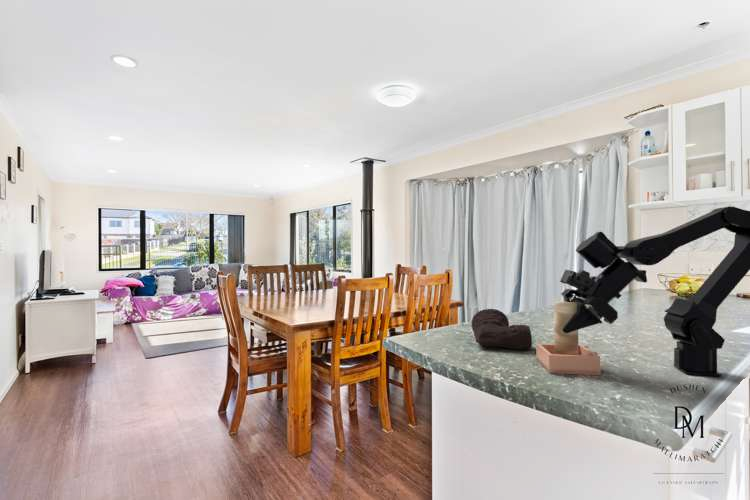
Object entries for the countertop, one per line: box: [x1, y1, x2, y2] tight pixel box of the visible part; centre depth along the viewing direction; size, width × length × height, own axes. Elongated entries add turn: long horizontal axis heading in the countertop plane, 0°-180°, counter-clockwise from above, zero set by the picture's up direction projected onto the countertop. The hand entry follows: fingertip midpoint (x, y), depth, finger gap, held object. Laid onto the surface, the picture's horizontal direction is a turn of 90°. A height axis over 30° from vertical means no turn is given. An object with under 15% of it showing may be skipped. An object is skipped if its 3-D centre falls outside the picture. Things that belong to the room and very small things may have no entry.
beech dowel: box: [553, 301, 579, 355], centre depth 90 cm, size 5×5×13 cm
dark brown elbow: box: [471, 308, 533, 351], centre depth 111 cm, size 10×15×15 cm
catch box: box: [535, 343, 602, 376], centre depth 90 cm, size 11×11×4 cm
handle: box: [582, 344, 598, 355], centre depth 105 cm, size 8×1×5 cm
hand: (560, 329), depth 90 cm, fingers closed on beech dowel, 5 cm apart
